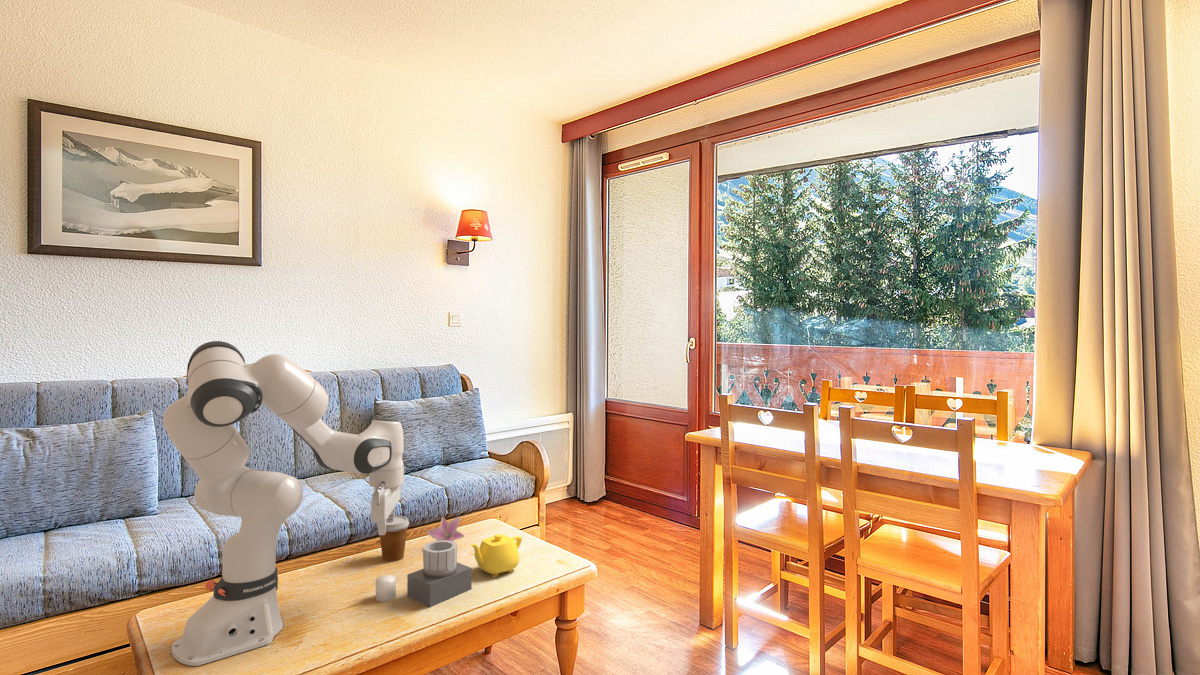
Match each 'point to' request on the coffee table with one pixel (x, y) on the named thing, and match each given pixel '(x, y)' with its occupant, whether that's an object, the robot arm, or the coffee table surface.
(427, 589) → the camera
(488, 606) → the coffee table surface
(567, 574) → the coffee table surface
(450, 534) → the lily
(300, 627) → the coffee table surface
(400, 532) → the disposable coffee cup
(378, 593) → the white egg
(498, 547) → the teapot
